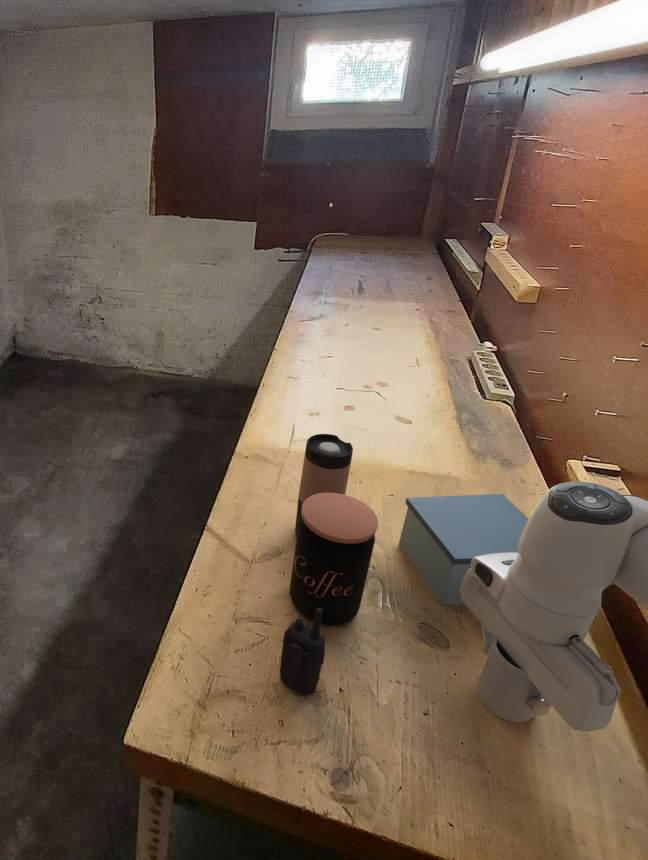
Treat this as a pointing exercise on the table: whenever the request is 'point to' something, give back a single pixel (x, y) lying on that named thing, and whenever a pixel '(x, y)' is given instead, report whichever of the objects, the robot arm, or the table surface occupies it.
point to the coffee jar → (332, 557)
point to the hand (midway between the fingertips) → (511, 680)
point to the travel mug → (324, 468)
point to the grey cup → (505, 686)
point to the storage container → (457, 537)
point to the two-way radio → (302, 655)
